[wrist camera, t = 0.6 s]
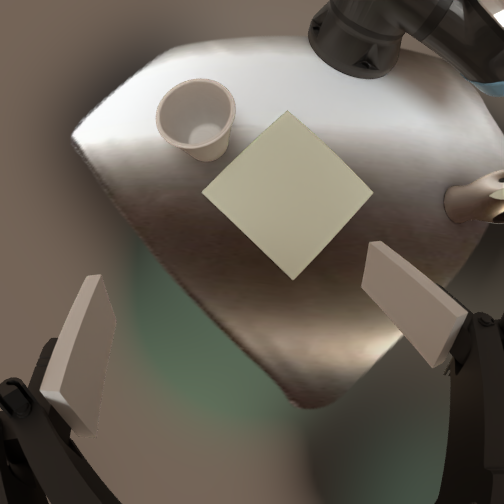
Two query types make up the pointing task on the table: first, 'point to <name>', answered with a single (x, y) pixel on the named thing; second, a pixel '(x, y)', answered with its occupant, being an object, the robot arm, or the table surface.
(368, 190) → the sage mat
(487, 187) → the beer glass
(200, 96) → the dixie cup
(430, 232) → the table surface
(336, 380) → the table surface
